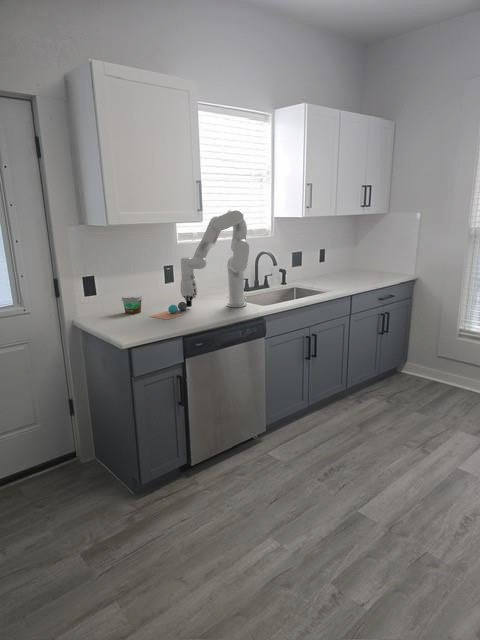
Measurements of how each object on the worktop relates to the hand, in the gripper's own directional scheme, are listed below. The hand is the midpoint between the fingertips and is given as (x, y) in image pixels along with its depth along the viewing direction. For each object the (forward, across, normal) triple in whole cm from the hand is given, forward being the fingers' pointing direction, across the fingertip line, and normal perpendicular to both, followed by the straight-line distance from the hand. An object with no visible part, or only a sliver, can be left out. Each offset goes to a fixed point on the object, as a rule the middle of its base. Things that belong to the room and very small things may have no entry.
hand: (189, 306), depth 270 cm
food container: (+2, +22, +27) cm, 35 cm away
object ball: (-1, 0, +14) cm, 14 cm away
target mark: (+2, 0, +20) cm, 20 cm away
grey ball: (-1, 0, +6) cm, 6 cm away
